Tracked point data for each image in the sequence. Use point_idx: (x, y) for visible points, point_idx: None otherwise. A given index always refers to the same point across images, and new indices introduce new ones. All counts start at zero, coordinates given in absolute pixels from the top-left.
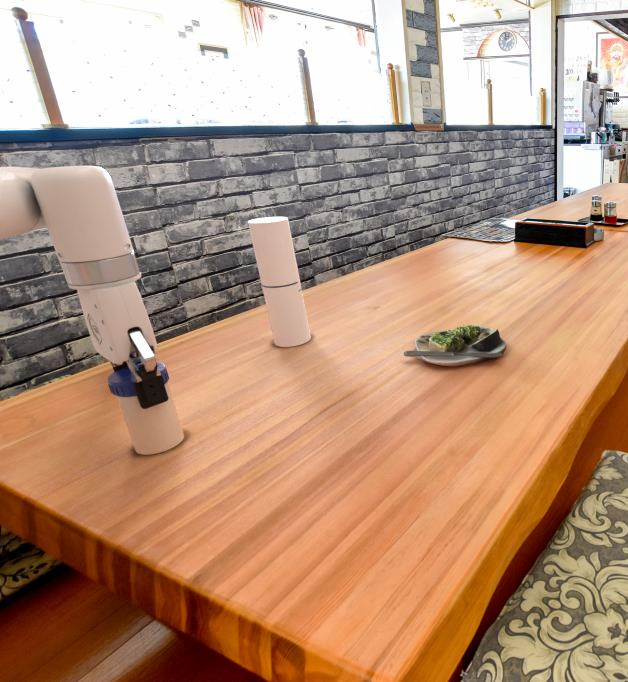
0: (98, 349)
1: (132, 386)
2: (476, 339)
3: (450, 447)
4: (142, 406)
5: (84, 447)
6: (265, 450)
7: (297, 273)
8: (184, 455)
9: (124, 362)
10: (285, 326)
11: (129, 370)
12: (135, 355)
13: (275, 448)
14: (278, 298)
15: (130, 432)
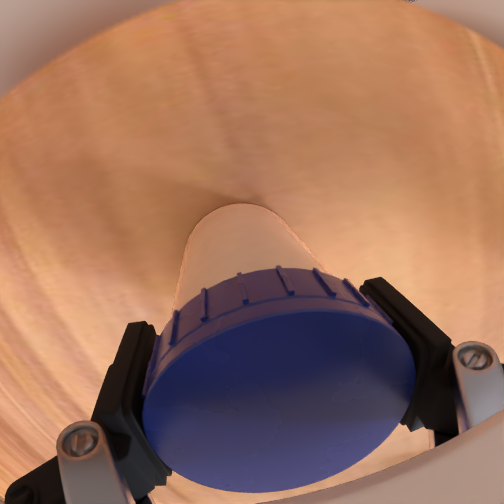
0: (497, 476)
1: (147, 383)
2: None
3: (6, 473)
4: (126, 329)
5: (367, 111)
6: (66, 393)
7: None
8: (131, 291)
9: (433, 399)
10: None
11: (349, 405)
12: (430, 446)
13: (66, 403)
14: None
15: (229, 221)
